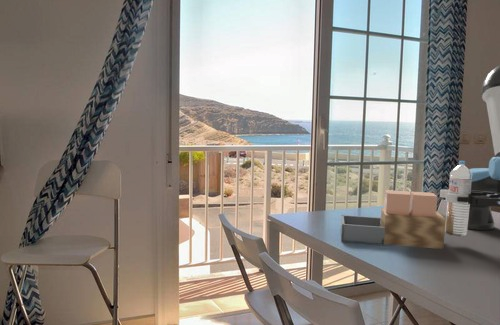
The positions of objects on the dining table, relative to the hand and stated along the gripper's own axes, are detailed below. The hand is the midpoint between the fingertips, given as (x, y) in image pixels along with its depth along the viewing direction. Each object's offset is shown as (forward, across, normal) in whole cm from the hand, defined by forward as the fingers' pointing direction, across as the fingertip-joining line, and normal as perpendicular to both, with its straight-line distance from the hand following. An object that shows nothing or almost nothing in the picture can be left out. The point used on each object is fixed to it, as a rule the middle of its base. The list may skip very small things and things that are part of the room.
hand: (443, 195), depth 144 cm
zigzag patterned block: (+10, 0, -17) cm, 19 cm away
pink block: (+15, 0, -3) cm, 15 cm away
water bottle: (-5, 0, -13) cm, 14 cm away
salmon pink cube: (+6, 0, -3) cm, 7 cm away
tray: (+26, 0, -17) cm, 31 cm away
